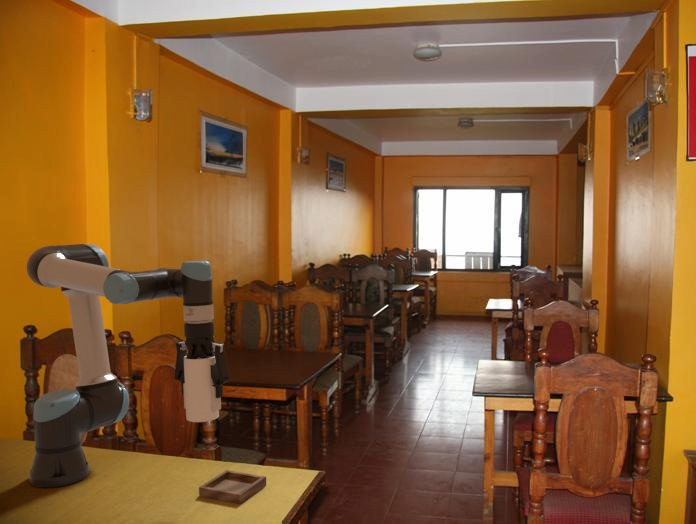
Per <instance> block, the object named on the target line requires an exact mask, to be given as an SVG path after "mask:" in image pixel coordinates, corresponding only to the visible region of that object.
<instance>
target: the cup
mask: <svg viewBox="0 0 696 524" xmlns="http://www.w3.org/2000/svg"><path fill="white" fill-rule="evenodd" d="M186 357H187V355H186V356H185V357H184V376H185V399H186V409H185V416H186V417H185V418H186V421H188V422H192V423H204V422H211V421H214V420H216V419H218V418H219V417H220V410H218V411H215V412H213V411H212V388H211V386H212V385H214V383H213V380H212V378H211V370H210V365H215V363H216V360H215V353H214V357H211V358H205V359H202V358H199V357H198V358H197V359H187V358H186ZM208 357H209V356H208Z"/></svg>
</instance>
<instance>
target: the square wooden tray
mask: <svg viewBox="0 0 696 524" xmlns="http://www.w3.org/2000/svg"><path fill="white" fill-rule="evenodd" d="M266 486H267V476H264V475H258V474H252V473H248V472H247V473H245V472H240V471H234V470H228V469H226V470H224V471H222V472H221V473H220V474H218V475H217V476H215V477H213V478H212V479H210V480H208V481H206V482H205V483H204V484H202V485H200V486H199V487H198V496H199V497H201V498H207V499H214V500H218V501H223V502H229V503H234V504H239V505H241V504H243V503H244V502H245V501H247V500H248V499H249V498H251V497H253V495H256V494H257V493H258V492H259V491H260V490H262V489H263V488H264V487H266Z"/></svg>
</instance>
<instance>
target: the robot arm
mask: <svg viewBox="0 0 696 524" xmlns="http://www.w3.org/2000/svg"><path fill="white" fill-rule="evenodd" d="M212 272H213V271H212V265H211V262H209V261H208V260H191V261H189V260H188V261H183V262H182V263H181V268H168V267H163V268H155V269H152V270H143V271H129V270H122V269H118V268H114V267H110V263H109V259H108V257H107V254H106V253H105V251H104V250H103V249H101V248H100V246H98V245H96V244H86V243H78V244H58V245H47V246H46V245H45V246H42V247H40V248H38V249H36V250H35V251H33V252H32V254H31V255H30V256H29V257H28V260H27V263H26V273H27V275H28V278H29V279H30V280H31V281H32V282H33V283H35V284H36V285H38V286H41V287H45V288H49V289H56V288H59V287H60V291H61V294H63V295H64V296H66V297H67V299H68V305H69V306H68V307H69V312H70V319H71V320H70V321H71V327H72V335H73V341H74V345H75V346H74V347H75V354H76V361H77V366H78V367H77V368H78V373H79V375H78V376H79V378H78V379H79V380H78V381H77V382H76V383H75V385H74V387H75V389H74V388H62V389H56V390H53V391H50V392H49V391H48V392H46V393H45V394H43V395H41V396H39V397H38V398H37V399H36V400H35V402H34V404H33V415H32V419H33V425H34V426H33V427H34V428H33V429H34V430H33V431H34V445H35V446H34V447H35V448H34V449H35V450H34V451H35V453H34V458H33V461H32V465H31V469H30V471H29V473H28V474H29V476H28V479H29V484H30V483H31V484H32V485H31V484H30V485H31V486H33V485H35V486H34V487H36V486H39V487H38V488H44V487H49V488H57V487H64V486H69V485H72V484H75V483H78V482H81V481H82V480H84V479H85V478H87V477H88V476H89V474H90V467H89V462H88V461H87V459H86V456H85V452H84V450H83V448H82V434H84V433H88V432H90V431H94V430H97V429H101V428H104V427H109V426H111V425H113V424H115V423H118V422H120V421H122V420H123V418H124V417H125V416H126V414H127V412H128V411H129V406H130V395H129V392H128V389H127V388H126V386H125V385H124V384H123V383H121V382H119V381H118V376H116V375H115V374H113V372H111V371H112V370H111V366H110V365H111V363H110V358H109V352H108V345H107V339H106V332H105V331H106V330H105V325H104V319H103V312H102V305H101V298H100V297H104V298H105V299H106V300H108V302H109V303H110V304H114V305H128V304H131V303H138V302H145V301H153V300H160V299H167V298H182V305H183V307H182V309H183V310H182V311H183V320H184V321H185V323H184V324H183V334H184V337H185V341H180V342H176V343H175V349H176V356H175V357H176V358H175V366H174V367H175V368H174V380H175V381H179V383H180V386H181V394H182V396H183V408H184V409H185V410H186V399H185V376H184V357H185V356H187V357H186V358H187V359H197V358H198V357H199V358H202V359H205V358H211V357H214V354H215V360H216V363H215V365H210V370H211V378H212V380H213V383H214V385H212V386H211V388H212V411H213V412H215V411H218V410H219V411H221V409H222V398H223V396H224V392H223V391H224V389H223V386H224V384H226V383H229V382H230V377H229V376H230V375H229V372H228V366H227V360H226V355H225V346H226V345H225V344H224V343H220V344H219V343H216V342H215V340H214V335H215V322H214V321H213V320H214V319H215V313H214V311H215V310H214V299H213V297H214V295H213V278H214V277H213V273H212ZM208 356H209V357H208Z"/></svg>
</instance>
